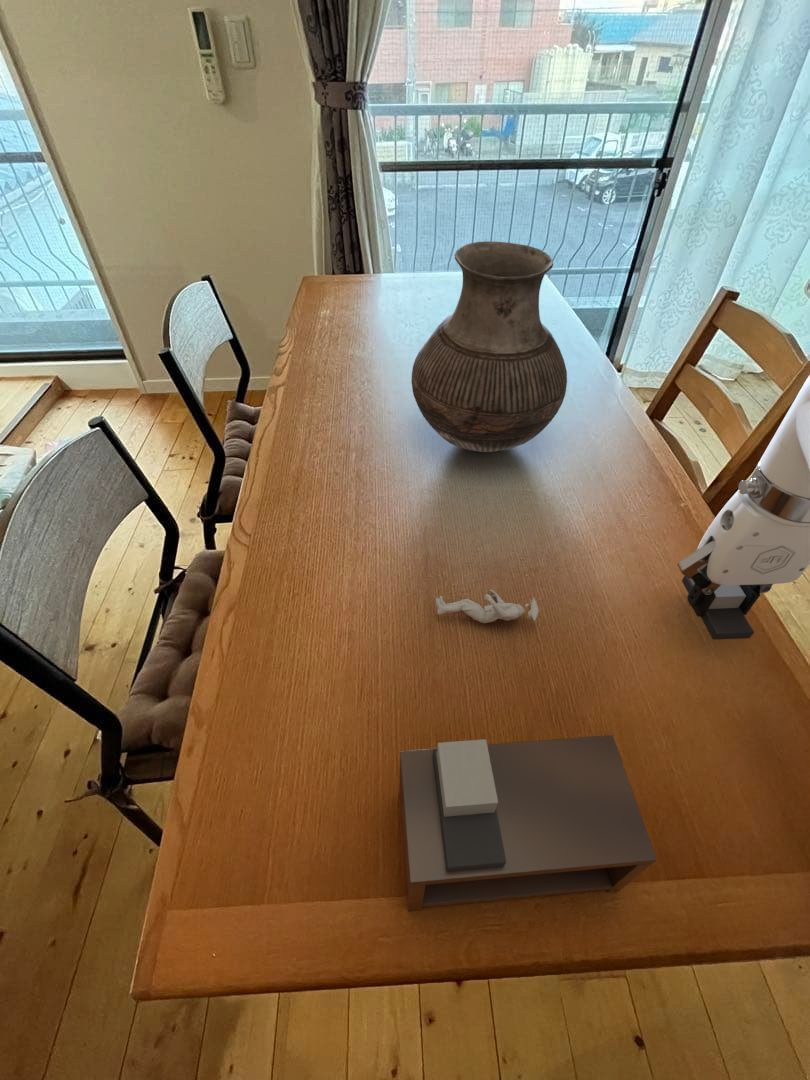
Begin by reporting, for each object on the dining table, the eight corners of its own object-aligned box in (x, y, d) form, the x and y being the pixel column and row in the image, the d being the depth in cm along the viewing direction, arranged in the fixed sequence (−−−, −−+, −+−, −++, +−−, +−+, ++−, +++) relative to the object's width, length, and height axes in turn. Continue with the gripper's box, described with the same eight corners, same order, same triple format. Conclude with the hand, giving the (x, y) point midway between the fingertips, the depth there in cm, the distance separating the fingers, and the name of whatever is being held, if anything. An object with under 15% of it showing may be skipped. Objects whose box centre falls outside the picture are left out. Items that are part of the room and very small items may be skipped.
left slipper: (504, 866, 42) (510, 853, 39) (446, 872, 42) (449, 859, 39) (482, 750, 48) (487, 732, 46) (432, 754, 48) (434, 736, 45)
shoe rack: (619, 891, 50) (657, 860, 42) (407, 911, 48) (410, 883, 41) (585, 777, 56) (612, 734, 49) (399, 793, 55) (399, 750, 48)
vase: (435, 390, 108) (445, 219, 86) (562, 416, 102) (606, 239, 81) (389, 463, 92) (387, 275, 70) (536, 499, 86) (583, 306, 64)
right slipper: (749, 638, 64) (763, 620, 62) (712, 639, 64) (725, 622, 61) (715, 579, 70) (726, 561, 68) (681, 580, 70) (691, 562, 68)
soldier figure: (442, 593, 74) (533, 577, 71) (449, 628, 74) (540, 614, 71) (431, 599, 67) (532, 582, 64) (439, 639, 66) (540, 624, 64)
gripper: (725, 518, 51) (658, 634, 64) (901, 513, 52) (800, 629, 65) (691, 468, 56) (636, 584, 69) (851, 464, 57) (767, 580, 70)
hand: (716, 605), depth 67 cm, fingers closed on right slipper, 4 cm apart
